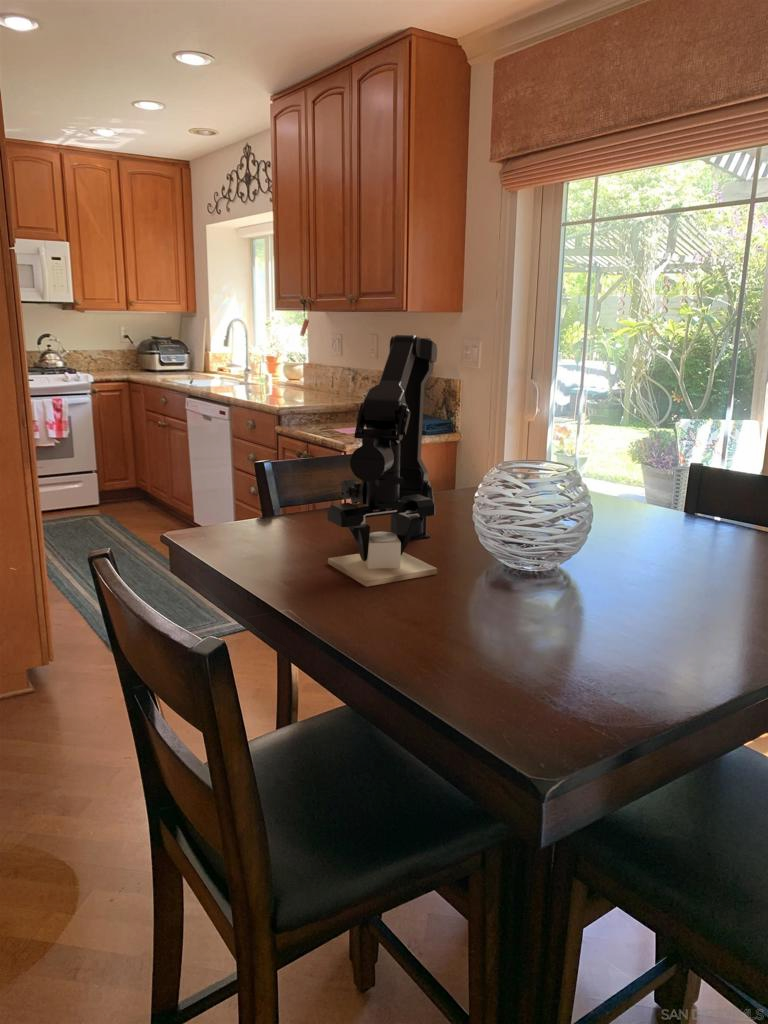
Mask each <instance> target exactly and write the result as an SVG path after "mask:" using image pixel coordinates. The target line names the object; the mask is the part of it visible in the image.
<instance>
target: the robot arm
mask: <svg viewBox="0 0 768 1024" xmlns="http://www.w3.org/2000/svg"><path fill="white" fill-rule="evenodd" d="M388 351H389V353H388V355H387V358H386V361H385V364H384V368H383V371H382V374H381V377H380V380H379V382H378V384H377V385H375V386H373V387H371V388H370V389H369V390H368V391H367V393H366V395H365V397H364V399H363V402H361V403H360V407H359V409H358V415H357V420H356V426H355V430H354V435H353V436H354V437H353V438H354V439H357V440H358V439H360V440H362V441H361V446H359V447H357V448H356V449H355V450H354V451H353V453H352V454H351V457H350V459H349V467H350V469H351V470H350V471H351V472H352V473H353V475H354V476H355V477H356V478H357V479H359V480H361V482H360V483H356V482H355V480H354V479H350V480H349V479H348V480H346V479H345V480H343V481H341V487H340V493H341V498H342V499H343V500H350V501H351V502H340V503H334V504H331V505H330V507H328V509H327V521H328V522H329V523H330V522H331V523H333V524H335V525H336V526H339V527H341V528H348V530H349V531H350V533H351V535H352V537H353V539H354V542H355V545H356V547H357V550H358V554H360V556H361V559H362V560H363V561H366V560H367V556H368V547H369V535H370V533H371V532H370V531H371V526H370V525H368V524H366V518H373V517H374V518H375V517H379V516H380V517H381V516H388V515H390V532H391V533H394V534H396V535H397V537H398V539H399V540H400V542H401V555H402V553H403V552H405V549H406V548H407V545H408V544H409V542H411V541H417V540H424V539H430V538H431V535H430V534H428V533H427V517H430V516H435V515H436V504H435V501H434V500H435V496H434V492H433V489H434V488H433V487H432V486H431V481H430V480H429V476H428V475H429V471H428V469H427V466H426V465H425V464H424V462H423V459H422V440H423V439H422V437H423V421H424V419H423V417H424V400H425V384H426V382H427V381H428V380H429V378H430V377H431V376H432V374H433V371H434V365H435V364H434V363H436V362H437V358H438V346H437V344H436V343H435V342H434V341H433V340H432V339H431V338H430V337H420V336H416V334H413V335H411V334H410V335H409V334H396V335H394V336H392V335H391V337H390V340H389V350H388ZM357 504H360V505H365V506H357Z"/></svg>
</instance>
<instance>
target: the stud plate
mask: <svg viewBox="0 0 768 1024" xmlns="http://www.w3.org/2000/svg"><path fill="white" fill-rule="evenodd" d="M327 564H328V565H330V566H331V567H333V568H335V569H336V570H338V571H340V572H341V573H343V574H345V575H346V576H348V577H349V578H352V579H353V580H354V581H356V582H358V583H360V584H361V585H362V586H364V587H372V586H377V585H384V584H389V583H396V582H399V581H404V580H405V581H406V580H410V579H416V578H422V577H423V578H424V577H427V576H432V575H437V574H438V568H437V567H434V566H433V565H430V564H429V563H427V562H425V561H423V560H421V559H419V558H416V557H415V556H412V555H410V554H408V553H406V552H405V551H403V553H402V555H401V561H400V568H376V569H368V567H367V565H366V562H365V561H363V560H362V559H361V556H360V554H359V553H355V554H346V555H342V556H335V557H328V558H327Z"/></svg>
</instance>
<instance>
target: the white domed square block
mask: <svg viewBox="0 0 768 1024" xmlns="http://www.w3.org/2000/svg"><path fill="white" fill-rule="evenodd" d="M400 561H401V542H400V540H399V539H398V537H397V535H396V534H394V533H391V531H374V532H370V535H369V547H368V556H367V560H366V561H365V562H366V565H367V567H368V569H376V568H400Z"/></svg>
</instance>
